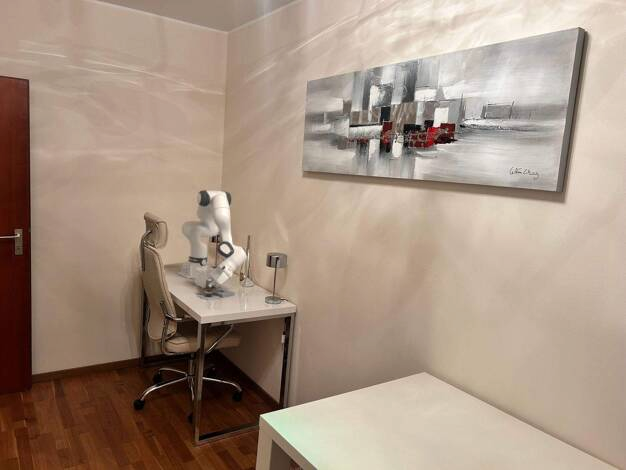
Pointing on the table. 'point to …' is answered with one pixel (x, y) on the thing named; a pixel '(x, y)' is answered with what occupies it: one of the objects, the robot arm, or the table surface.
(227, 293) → the socket block
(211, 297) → the mat
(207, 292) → the plug
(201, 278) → the cable organizer
